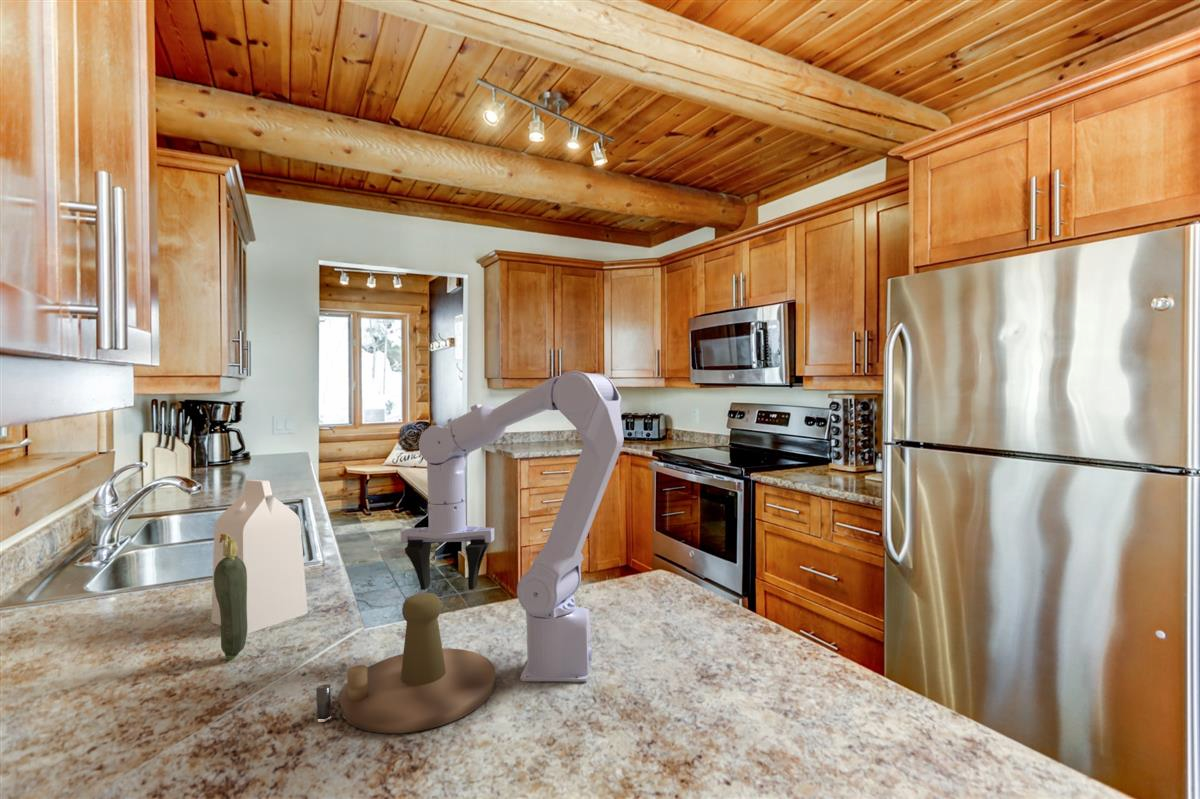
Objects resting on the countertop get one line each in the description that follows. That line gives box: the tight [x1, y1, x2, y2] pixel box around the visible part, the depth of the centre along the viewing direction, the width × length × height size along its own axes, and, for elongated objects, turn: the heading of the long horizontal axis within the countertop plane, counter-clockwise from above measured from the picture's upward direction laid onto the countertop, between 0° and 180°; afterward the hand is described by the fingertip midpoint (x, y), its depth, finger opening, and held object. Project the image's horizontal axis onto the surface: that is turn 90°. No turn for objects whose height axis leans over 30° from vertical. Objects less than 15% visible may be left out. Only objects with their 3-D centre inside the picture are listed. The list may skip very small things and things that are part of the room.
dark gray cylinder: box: [315, 683, 332, 719], centre depth 77 cm, size 17×14×4 cm
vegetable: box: [214, 533, 248, 661], centre depth 89 cm, size 4×4×20 cm
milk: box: [211, 478, 309, 635], centre depth 108 cm, size 12×12×26 cm
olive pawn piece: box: [401, 592, 446, 685], centre depth 79 cm, size 6×6×11 cm
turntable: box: [340, 648, 496, 734], centre depth 78 cm, size 20×20×5 cm
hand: (449, 587), depth 90 cm, fingers open, 7 cm apart
